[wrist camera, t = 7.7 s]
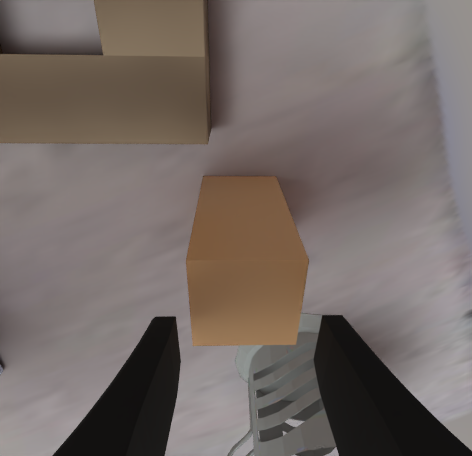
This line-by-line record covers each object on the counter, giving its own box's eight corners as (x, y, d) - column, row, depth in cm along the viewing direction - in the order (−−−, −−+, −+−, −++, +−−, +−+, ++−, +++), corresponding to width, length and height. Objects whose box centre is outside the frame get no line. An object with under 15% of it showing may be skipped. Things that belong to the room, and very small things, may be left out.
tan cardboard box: (271, 238, 19) (296, 344, 12) (205, 238, 19) (192, 345, 12) (275, 176, 17) (309, 260, 10) (203, 176, 17) (186, 260, 10)
